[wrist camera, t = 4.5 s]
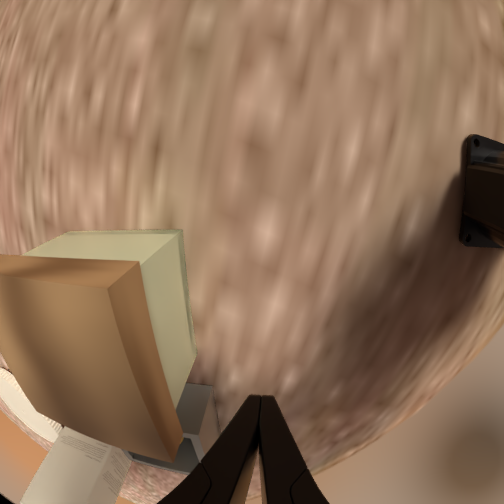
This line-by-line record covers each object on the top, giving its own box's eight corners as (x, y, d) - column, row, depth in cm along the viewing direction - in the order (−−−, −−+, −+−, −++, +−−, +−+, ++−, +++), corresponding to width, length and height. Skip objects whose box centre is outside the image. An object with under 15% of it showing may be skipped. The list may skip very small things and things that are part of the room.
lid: (139, 261, 8) (107, 288, 6) (183, 432, 12) (173, 463, 10) (-6, 254, 9) (-32, 268, 7) (51, 392, 12) (36, 411, 10)
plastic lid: (65, 441, 29) (59, 451, 26) (4, 389, 27) (-3, 397, 25) (70, 415, 24) (62, 428, 22) (-5, 346, 22) (-15, 356, 20)
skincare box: (85, 443, 26) (45, 519, 12) (66, 417, 24) (15, 499, 9) (135, 462, 26) (99, 550, 11) (118, 437, 23) (70, 538, 9)
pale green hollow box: (182, 229, 14) (126, 277, 9) (197, 353, 17) (170, 424, 11) (68, 231, 15) (2, 265, 9) (96, 337, 18) (53, 388, 12)
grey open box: (212, 385, 18) (198, 435, 14) (221, 438, 21) (212, 479, 16) (120, 370, 19) (95, 409, 14) (144, 424, 21) (128, 459, 17)
